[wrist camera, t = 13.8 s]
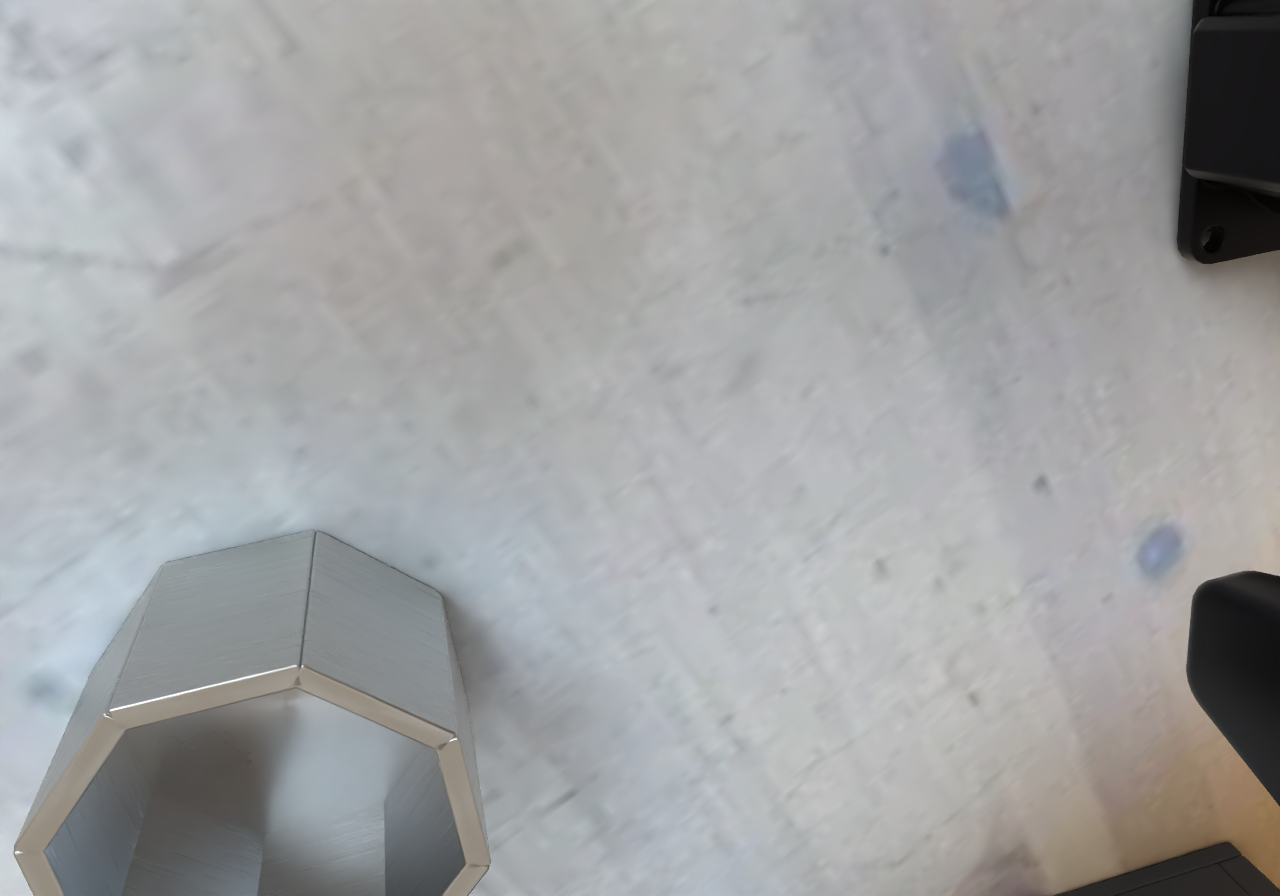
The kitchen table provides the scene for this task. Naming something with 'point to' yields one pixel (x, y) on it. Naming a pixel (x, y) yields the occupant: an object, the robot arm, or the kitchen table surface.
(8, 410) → the kitchen table surface
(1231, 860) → the dark grey tray
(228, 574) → the octagonal metal cup
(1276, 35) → the robot arm
